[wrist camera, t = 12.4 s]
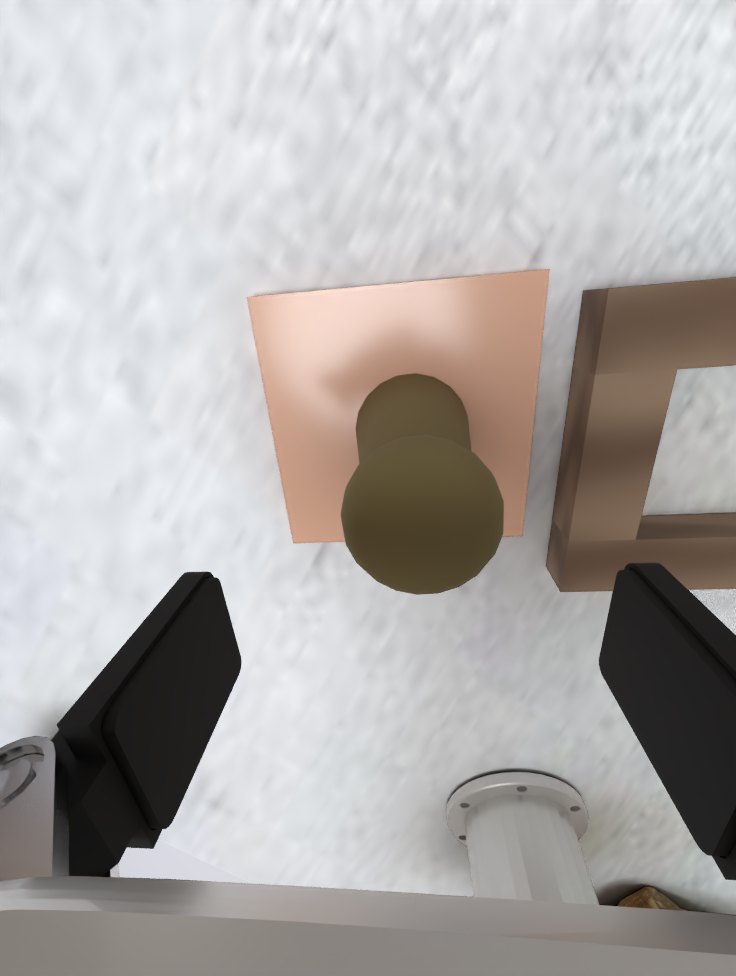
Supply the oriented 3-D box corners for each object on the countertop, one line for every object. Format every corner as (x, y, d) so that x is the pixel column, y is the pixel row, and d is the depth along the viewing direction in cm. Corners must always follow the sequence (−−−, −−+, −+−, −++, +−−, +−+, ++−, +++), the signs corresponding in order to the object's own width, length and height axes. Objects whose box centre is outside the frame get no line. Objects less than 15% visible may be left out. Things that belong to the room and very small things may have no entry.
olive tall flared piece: (431, 348, 19) (467, 399, 9) (488, 446, 21) (568, 573, 11) (333, 415, 21) (276, 516, 11) (394, 499, 23) (392, 650, 13)
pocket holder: (818, 559, 24) (862, 586, 22) (545, 566, 26) (560, 592, 23) (965, 257, 17) (1051, 250, 15) (583, 290, 19) (608, 289, 16)
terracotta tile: (518, 527, 24) (522, 536, 24) (296, 534, 26) (293, 543, 25) (541, 270, 19) (549, 268, 18) (253, 297, 20) (246, 297, 19)
